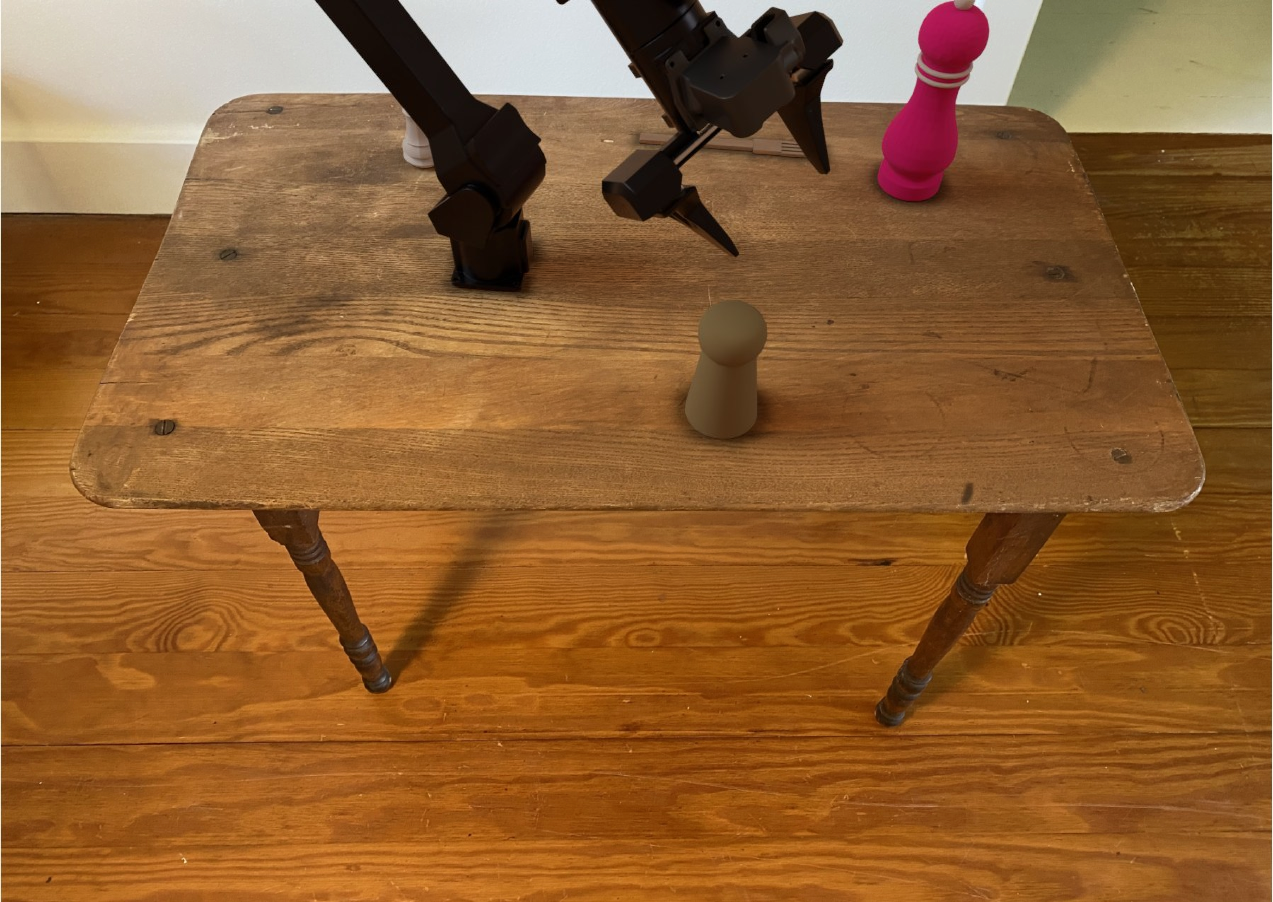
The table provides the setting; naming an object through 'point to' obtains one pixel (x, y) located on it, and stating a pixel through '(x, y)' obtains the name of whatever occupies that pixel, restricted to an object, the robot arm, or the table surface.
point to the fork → (738, 145)
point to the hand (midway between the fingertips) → (780, 214)
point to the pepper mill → (932, 102)
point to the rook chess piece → (416, 145)
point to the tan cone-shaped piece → (726, 370)
